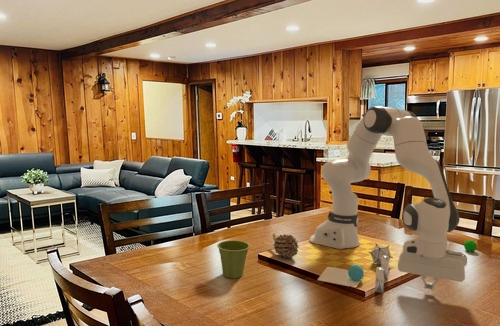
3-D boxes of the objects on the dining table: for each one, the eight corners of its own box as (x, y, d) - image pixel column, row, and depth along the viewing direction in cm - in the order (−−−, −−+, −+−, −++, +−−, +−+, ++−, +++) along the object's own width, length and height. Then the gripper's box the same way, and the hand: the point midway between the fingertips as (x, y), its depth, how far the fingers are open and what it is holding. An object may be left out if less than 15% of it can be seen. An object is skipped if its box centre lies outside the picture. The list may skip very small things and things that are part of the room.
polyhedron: (471, 253, 171) (471, 243, 171) (461, 250, 176) (461, 239, 175) (479, 252, 173) (479, 241, 173) (468, 248, 178) (469, 238, 177)
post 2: (379, 278, 144) (380, 257, 143) (380, 275, 146) (381, 254, 145) (387, 279, 143) (388, 258, 142) (388, 277, 145) (389, 255, 144)
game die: (380, 275, 156) (377, 260, 150) (366, 261, 162) (362, 246, 156) (398, 263, 157) (396, 248, 151) (383, 249, 164) (381, 234, 158)
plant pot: (237, 284, 137) (238, 252, 136) (210, 276, 144) (210, 246, 142) (255, 273, 147) (255, 243, 146) (229, 266, 154) (229, 238, 152)
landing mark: (317, 280, 142) (317, 279, 142) (327, 266, 154) (327, 266, 154) (357, 288, 136) (357, 287, 136) (364, 273, 148) (364, 273, 148)
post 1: (374, 292, 133) (375, 269, 132) (375, 289, 135) (376, 266, 134) (382, 293, 132) (383, 270, 131) (383, 290, 134) (384, 267, 133)
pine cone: (304, 261, 159) (305, 237, 158) (283, 264, 156) (284, 240, 155) (280, 244, 180) (280, 223, 178) (260, 247, 176) (260, 225, 175)
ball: (365, 272, 138) (359, 286, 139) (366, 266, 143) (361, 279, 144) (350, 265, 139) (344, 278, 141) (352, 259, 144) (346, 272, 146)
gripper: (467, 250, 129) (463, 291, 131) (400, 240, 138) (397, 279, 139) (468, 256, 123) (464, 298, 125) (398, 246, 132) (395, 286, 134)
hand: (429, 288), depth 132 cm, fingers closed
